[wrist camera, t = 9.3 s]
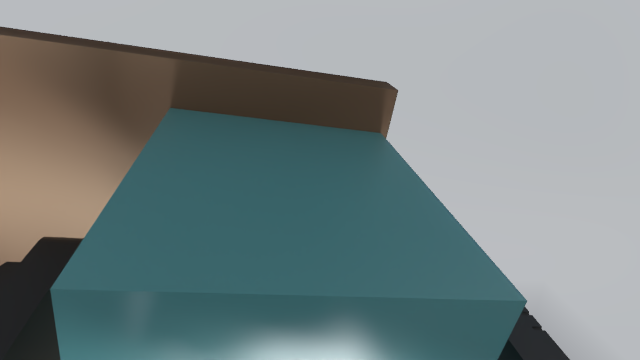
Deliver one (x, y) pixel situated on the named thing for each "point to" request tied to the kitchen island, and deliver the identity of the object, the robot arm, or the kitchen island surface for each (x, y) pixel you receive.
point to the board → (131, 119)
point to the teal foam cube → (277, 254)
